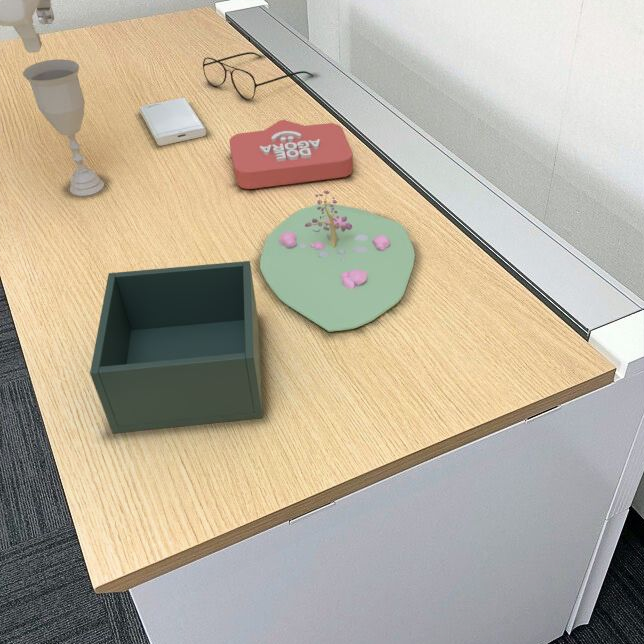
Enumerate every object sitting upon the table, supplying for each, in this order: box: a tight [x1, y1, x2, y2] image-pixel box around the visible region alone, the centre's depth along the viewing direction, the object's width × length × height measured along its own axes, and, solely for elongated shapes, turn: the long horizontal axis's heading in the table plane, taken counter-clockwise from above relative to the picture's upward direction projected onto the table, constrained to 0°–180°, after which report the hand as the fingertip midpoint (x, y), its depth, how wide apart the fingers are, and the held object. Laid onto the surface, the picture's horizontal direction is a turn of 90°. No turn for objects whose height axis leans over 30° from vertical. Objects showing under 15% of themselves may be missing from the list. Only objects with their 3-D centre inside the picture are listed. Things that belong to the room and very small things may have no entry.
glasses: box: [202, 51, 314, 101], centre depth 137 cm, size 14×15×5 cm
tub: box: [89, 260, 264, 434], centre depth 79 cm, size 16×16×9 cm
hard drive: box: [139, 97, 207, 147], centre depth 124 cm, size 2×8×12 cm
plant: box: [259, 190, 416, 333], centre depth 93 cm, size 25×21×9 cm
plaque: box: [228, 119, 354, 190], centre depth 114 cm, size 18×4×15 cm
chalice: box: [22, 58, 105, 197], centre depth 105 cm, size 7×7×18 cm
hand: (41, 35), depth 96 cm, fingers open, 8 cm apart
